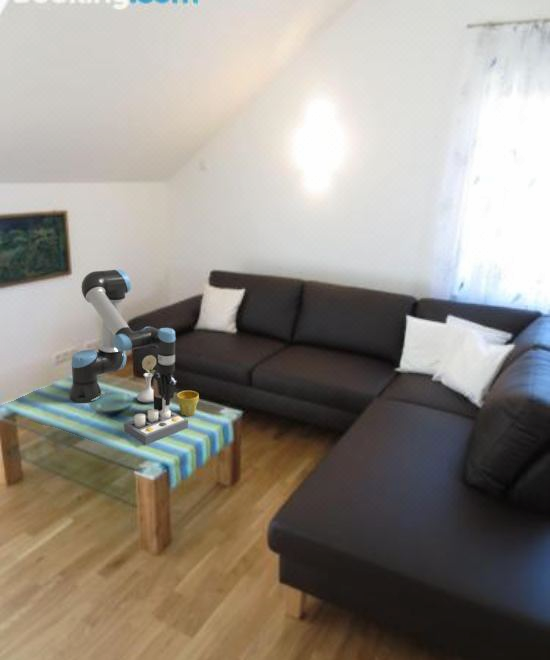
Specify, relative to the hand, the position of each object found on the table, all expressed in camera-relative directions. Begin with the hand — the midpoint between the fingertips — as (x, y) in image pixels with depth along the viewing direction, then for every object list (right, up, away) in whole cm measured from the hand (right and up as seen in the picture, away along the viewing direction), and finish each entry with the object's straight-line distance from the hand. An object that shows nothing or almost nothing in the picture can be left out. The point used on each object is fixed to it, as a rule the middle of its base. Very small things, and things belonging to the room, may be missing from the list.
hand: (165, 410), depth 227 cm
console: (-3, -8, -5) cm, 10 cm away
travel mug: (-5, -3, +14) cm, 15 cm away
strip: (+1, -5, -9) cm, 10 cm away
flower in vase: (-14, +1, +24) cm, 28 cm away
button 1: (-9, -5, -10) cm, 14 cm away
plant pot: (+8, -4, +14) cm, 16 cm away
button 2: (-5, -4, -4) cm, 8 cm away
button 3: (0, -5, +1) cm, 5 cm away
